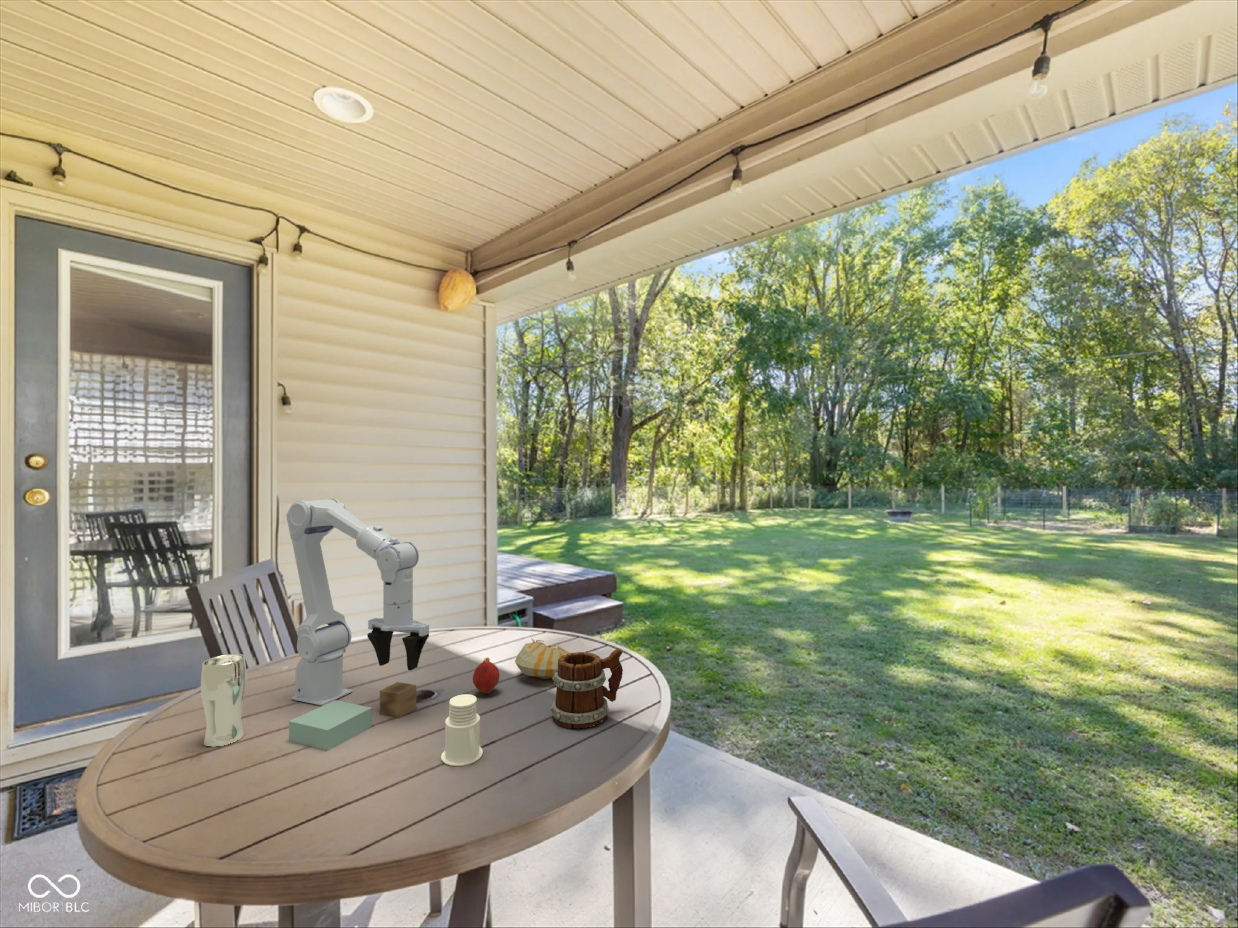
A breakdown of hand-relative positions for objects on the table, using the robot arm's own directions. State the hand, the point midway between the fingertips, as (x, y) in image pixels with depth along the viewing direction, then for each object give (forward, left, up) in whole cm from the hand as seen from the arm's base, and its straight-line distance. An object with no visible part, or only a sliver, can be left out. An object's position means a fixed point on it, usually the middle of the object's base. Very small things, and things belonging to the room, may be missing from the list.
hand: (398, 666), depth 114 cm
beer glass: (-22, -21, -10) cm, 32 cm away
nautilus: (+18, +30, -10) cm, 36 cm away
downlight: (+24, -10, -10) cm, 28 cm away
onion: (+12, +14, -10) cm, 21 cm away
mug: (+38, +12, -10) cm, 41 cm away
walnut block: (0, 0, -10) cm, 10 cm away
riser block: (-5, -12, -10) cm, 16 cm away
